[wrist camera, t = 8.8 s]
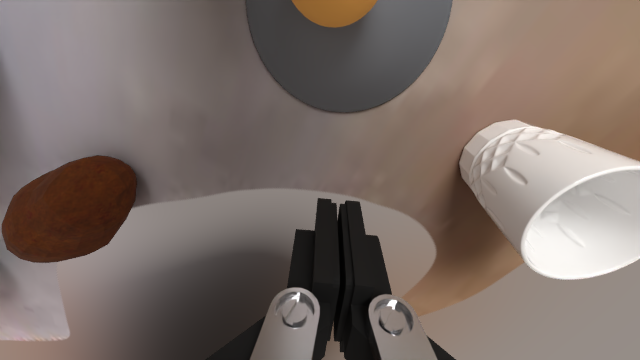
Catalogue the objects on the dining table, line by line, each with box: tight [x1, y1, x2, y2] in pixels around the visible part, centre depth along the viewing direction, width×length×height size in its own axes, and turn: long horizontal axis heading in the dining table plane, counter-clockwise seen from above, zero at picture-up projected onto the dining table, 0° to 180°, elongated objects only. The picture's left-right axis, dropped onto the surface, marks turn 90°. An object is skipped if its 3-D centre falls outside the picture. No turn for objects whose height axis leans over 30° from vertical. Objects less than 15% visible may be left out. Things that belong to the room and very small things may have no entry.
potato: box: [2, 155, 137, 263], centre depth 23 cm, size 8×12×8 cm, turn 128°
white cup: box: [459, 120, 640, 280], centre depth 19 cm, size 8×8×10 cm
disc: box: [246, 0, 452, 112], centre depth 18 cm, size 14×14×1 cm
